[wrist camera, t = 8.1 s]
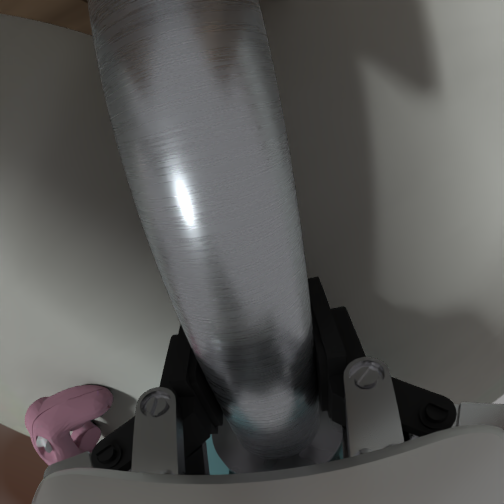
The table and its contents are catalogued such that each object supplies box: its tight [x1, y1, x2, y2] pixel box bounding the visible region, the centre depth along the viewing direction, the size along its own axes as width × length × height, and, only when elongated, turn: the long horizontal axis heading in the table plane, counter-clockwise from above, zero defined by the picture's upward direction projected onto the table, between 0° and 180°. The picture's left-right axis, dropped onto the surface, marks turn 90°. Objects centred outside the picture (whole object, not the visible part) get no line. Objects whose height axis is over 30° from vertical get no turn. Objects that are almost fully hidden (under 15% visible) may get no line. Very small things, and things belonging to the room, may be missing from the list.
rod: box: [87, 0, 342, 474], centre depth 9 cm, size 26×5×5 cm, turn 11°
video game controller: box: [25, 385, 113, 466], centre depth 16 cm, size 10×5×7 cm, turn 174°
